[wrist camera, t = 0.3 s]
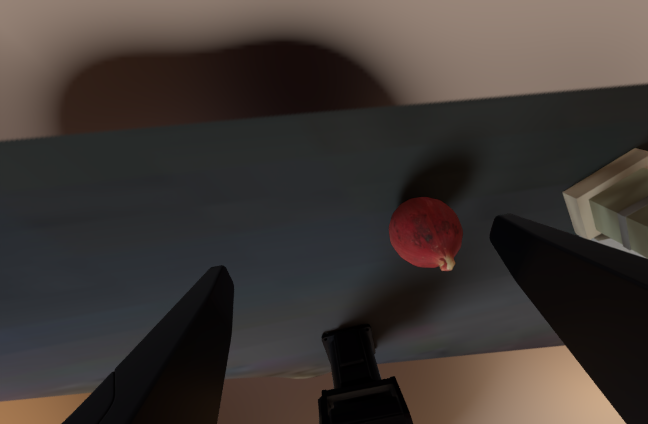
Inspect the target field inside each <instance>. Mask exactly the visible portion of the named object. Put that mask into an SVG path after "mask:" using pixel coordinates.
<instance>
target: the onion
mask: <svg viewBox="0 0 648 424" xmlns="http://www.w3.org/2000/svg"><path fill="white" fill-rule="evenodd" d="M389 235H390V241H391V244H392V246H393V247H394V249H395V250H396V251H397V253H398V254H399V255H400V256H401V257H402V258H403V259H404V260H406V261H408V262H409V263H411V264H413V265H415V266H418V267H427V268H434V267H438V266H440V269H441V270H442V271H449V270H452V268H453V266H454V265H455V264H456V263H455V261H454V256H455V255H456V254H457V252H458V251H459V249H460V247H461V242H462V236H463V230H462V227H461V224H460V222H459V219H458V217H457V215H456V214H455V212H454V211H453V210H452V209H451V208H450V207H449V206H447V205H446V204H445V203H443V202H442V201H440V200H437V199H433V198H429V197H418V198H411V199H409V200H407V201H406V202H404V203H402V204H400V205H399V207H398V208H397V209H396V210H395V212H394V213H393V215H392V218H391V221H390V225H389Z"/></svg>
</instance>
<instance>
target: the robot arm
mask: <svg viewBox="0 0 648 424" xmlns="http://www.w3.org/2000/svg"><path fill="white" fill-rule="evenodd" d="M490 241H491V243H492V245H493V246H494V248H495V249H496V251H497V253H498V254H499V256H500V257H501V259H502V260H503V262H504V264H505V265H506V267H507V268H508V270H509V272H510V273H511V275H512V276H513V278H514V279H515V281H516V282H517V283H518V285H519V286H520V287H521V289H522V290H523V291H524V293H525V294H526V295H527V297H528V298H529V299H530V300H531V302H532V303H533V304H534V306H535V307H536V308H537V309H538V311H539V312H540V313H541V315H542V316H543V317H544V318H545V320H546V321H547V322H548V324H549V325H550V326H551V327H552V329H553V330H554V331H555V333H556V334H557V335H558V336H559V338H560V339H561V340H562V342H563V343H564V344H565V345H566V347H567V348H568V349H569V350H570V352H571V353H572V354H573V356H574V357H575V358H576V360H577V361H578V362H579V363H580V365H581V366H582V367H583V368H584V370H585V371H586V372H587V374H588V375H589V376H590V378H591V379H592V380H593V381H594V383H595V384H596V385H597V387H598V388H599V389H600V390H601V392H602V393H603V394H604V396H605V397H606V398H607V399H608V401H609V402H610V403H611V405H612V406H613V407H614V408H615V410H616V411H617V412H618V413H619V415H620V416H621V417H622V419H623V420H624V421H625V423H626V424H648V259H647V258H644V257H641V256H638V255H635V254H632V253H629V252H625V251H622V250H619V249H616V248H613V247H610V246H607V245H604V244H601V243H598V242H595V241H592V240H589V239H586V238H583V237H580V236H577V235H574V234H570V233H567V232H564V231H561V230H558V229H555V228H552V227H549V226H546V225H543V224H540V223H537V222H534V221H531V220H528V219H525V218H522V217H519V216H516V215H512V214H504V215H498V216H496V217H495V218H494V221H493V225H492V228H491V231H490ZM233 301H234V284H233V281H232V279H231V277H230V275H229V273H228V271H227V269H226V267H225V266H223V265H221V266H215V267H211V268H210V269H209V270H208V271H207V272H206V273H205V274H204V275H203V276H202V277H201V278H200V279H199V280H198V281H197V283H196V284H195V285H194V286H193V287H192V288H191V289H190V290H189V291H188V292H187V293H186V294H185V295H184V296H183V297H182V298H181V299H180V301H179V302H178V303H177V304H176V305H175V306H174V307H173V308H172V309H171V310H170V311H169V312H168V313H167V314H166V315H165V316H164V318H163V319H162V320H161V321H160V322H159V323H158V324H157V325H156V326H155V327H154V328H153V329H152V330H151V331H150V332H149V333H148V334H147V336H146V337H145V338H144V339H143V340H142V341H141V342H140V343H139V344H138V345H137V346H136V347H135V348H134V349H133V350H132V351H131V353H130V354H129V355H128V356H127V357H126V358H125V359H124V360H123V361H122V362H121V363H120V364H119V365H118V366H117V367H116V368H115V372H112V373H111V374H110V375H109V376H108V377H107V378H106V379H105V380H104V381H103V382H102V383H101V384H100V385H99V386H98V387H97V388H96V389H95V390H94V391H93V393H92V394H91V395H90V396H89V397H88V398H87V399H86V400H85V401H84V402H83V403H82V404H81V405H80V406H79V407H78V408H77V409H76V410H75V411H74V412H73V413H72V414H71V415H70V416H69V417H68V418H67V419H66V420H65V421H64V422H63V423H62V424H217V420H218V414H219V408H220V402H221V396H222V390H223V384H224V378H225V372H226V366H227V360H228V354H229V348H230V342H231V335H232V320H233ZM322 342H323V345H324V347H325V350H326V353H327V355H328V358H329V361H330V363H331V370H332V377H333V384H334V389H331V390H322V396H321V397H320V398H319V399H318V406H319V424H413V422H412V418H411V415H410V412H409V410H408V407H407V405H406V402H405V400H404V398H403V395H402V393H401V390H400V388H399V385H398V383H397V381H396V378H395V376H393V377H390V378H387V379H383V380H381V377H380V373H379V370H378V367H377V363H376V359H375V356H374V354H375V353H376V352H375V347H374V342H373V337H372V332H371V327H370V325H369V324H366V325H362V326H357V327H353V328H349V329H345V330H341V331H337V332H332V333H328V334H324V335H322Z"/></svg>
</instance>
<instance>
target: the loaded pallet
mask: <svg viewBox="0 0 648 424" xmlns="http://www.w3.org/2000/svg"><path fill="white" fill-rule="evenodd" d="M563 195H564V198H565V202H566V205H567V208H568V211H569V214H570V217H571V221H572V224H573V227H574V230H575V233H576V234H578V235H580V236H581V237H583V238H586V239H589V240H590V239H592V238H594V237H596V236H598V235H600V234H601V233H602V234H604V235H606V236H608V237H610V238H611V239H613V240H615V241H617V242H619V243H621V244H622V245H623V247H625V248H627V249H628V250H633V251H635V252H637V253H639V254H640V255H642V256H644V257H646V258H648V151H645V150H641V149H637V148H634V149H632V150H631V151H629V152H628V153H626V154H624V155H623V156H621V157H619V158H618V159H616V160H615V161H613V162H611V163H610V164H608V165H606V166H605V167H603V168H601V169H600V170H598V171H597V172H595V173H593V174H592V175H590V176H588V177H587V178H585V179H583V180H582V181H580V182H579V183H577V184H575V185H574V186H572V187H570V188H569V189H567V190H566V191H564V192H563Z"/></svg>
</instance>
